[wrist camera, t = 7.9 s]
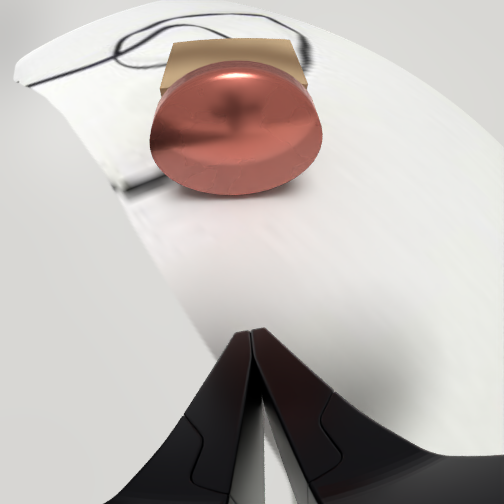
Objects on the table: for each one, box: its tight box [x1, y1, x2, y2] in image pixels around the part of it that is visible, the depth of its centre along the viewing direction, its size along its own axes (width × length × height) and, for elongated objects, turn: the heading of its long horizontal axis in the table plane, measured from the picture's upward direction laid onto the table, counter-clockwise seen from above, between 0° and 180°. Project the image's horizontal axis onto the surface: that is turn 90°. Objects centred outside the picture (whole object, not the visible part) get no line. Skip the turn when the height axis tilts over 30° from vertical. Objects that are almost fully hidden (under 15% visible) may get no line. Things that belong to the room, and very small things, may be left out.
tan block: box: [160, 38, 308, 96], centre depth 18 cm, size 6×8×7 cm
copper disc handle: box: [150, 60, 322, 195], centre depth 16 cm, size 11×9×9 cm
